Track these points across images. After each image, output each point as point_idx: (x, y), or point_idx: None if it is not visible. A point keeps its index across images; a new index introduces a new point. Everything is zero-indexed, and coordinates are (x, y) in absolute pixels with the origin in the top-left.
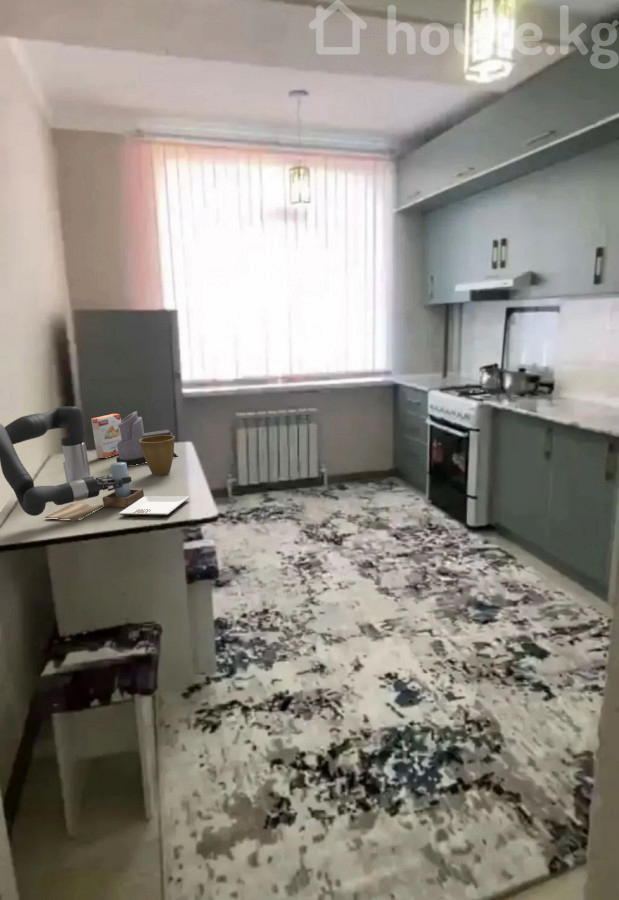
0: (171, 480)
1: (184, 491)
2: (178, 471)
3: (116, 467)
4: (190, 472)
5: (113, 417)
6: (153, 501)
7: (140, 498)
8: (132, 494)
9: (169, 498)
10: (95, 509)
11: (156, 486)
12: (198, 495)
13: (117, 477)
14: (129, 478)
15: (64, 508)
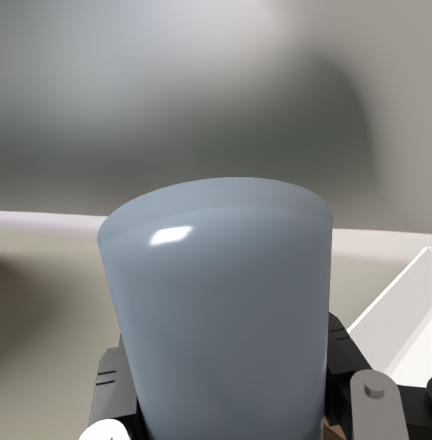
0: (80, 263)
1: None
2: (6, 238)
3: (325, 258)
4: (64, 222)
5: None
6: (390, 364)
7: None
8: (335, 428)
9: (406, 298)
10: None
11: (94, 310)
12: (363, 240)
13: (318, 391)
14: (333, 316)
15: None
